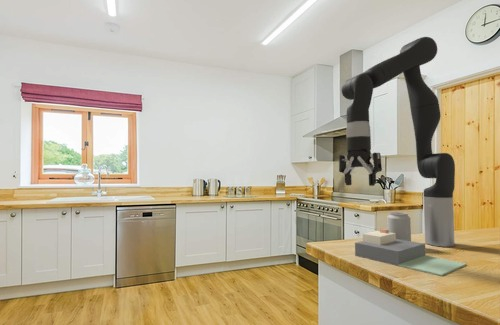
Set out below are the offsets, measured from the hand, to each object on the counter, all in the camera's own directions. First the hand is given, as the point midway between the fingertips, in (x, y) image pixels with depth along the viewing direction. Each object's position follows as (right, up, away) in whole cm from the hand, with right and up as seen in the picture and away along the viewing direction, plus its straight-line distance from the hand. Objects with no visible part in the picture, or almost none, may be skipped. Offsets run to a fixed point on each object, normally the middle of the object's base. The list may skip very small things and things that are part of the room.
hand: (359, 185), depth 101 cm
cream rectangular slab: (+6, -18, -2) cm, 19 cm away
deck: (+8, -22, -5) cm, 24 cm away
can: (+17, -23, +8) cm, 29 cm away
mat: (+15, -21, -15) cm, 30 cm away
